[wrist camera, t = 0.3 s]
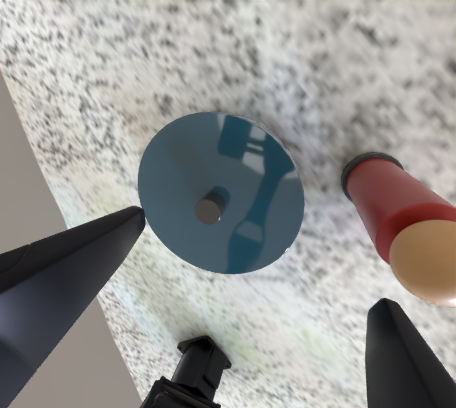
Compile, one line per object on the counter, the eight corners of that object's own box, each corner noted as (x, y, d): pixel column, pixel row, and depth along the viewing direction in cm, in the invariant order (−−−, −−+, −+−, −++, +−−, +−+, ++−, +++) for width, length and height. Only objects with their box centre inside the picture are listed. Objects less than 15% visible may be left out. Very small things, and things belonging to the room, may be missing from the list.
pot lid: (230, 290, 25) (223, 310, 22) (121, 200, 24) (101, 211, 21) (346, 198, 18) (352, 214, 15) (198, 67, 17) (181, 62, 15)
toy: (356, 211, 22) (420, 347, 10) (331, 170, 21) (369, 266, 9) (411, 187, 20) (574, 321, 8) (386, 140, 19) (526, 213, 7)
